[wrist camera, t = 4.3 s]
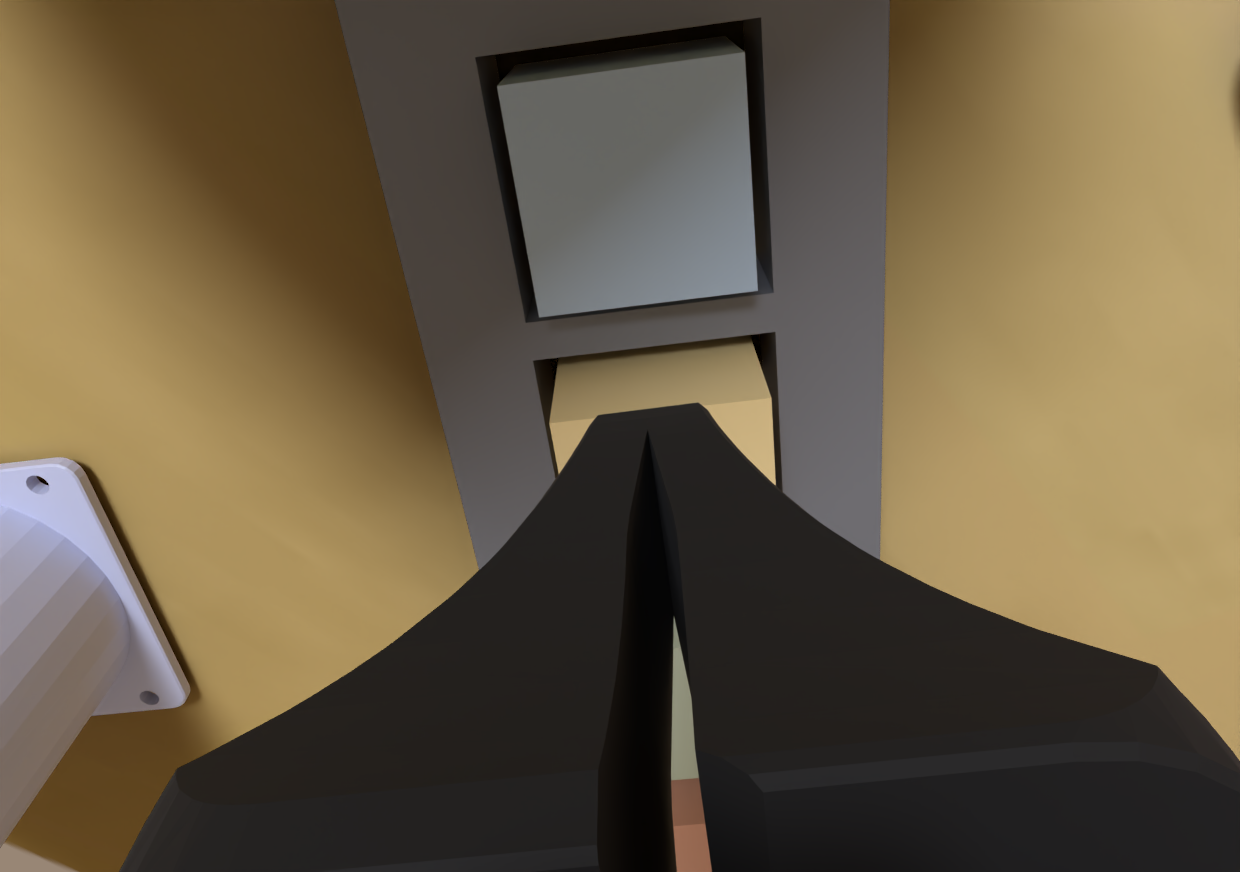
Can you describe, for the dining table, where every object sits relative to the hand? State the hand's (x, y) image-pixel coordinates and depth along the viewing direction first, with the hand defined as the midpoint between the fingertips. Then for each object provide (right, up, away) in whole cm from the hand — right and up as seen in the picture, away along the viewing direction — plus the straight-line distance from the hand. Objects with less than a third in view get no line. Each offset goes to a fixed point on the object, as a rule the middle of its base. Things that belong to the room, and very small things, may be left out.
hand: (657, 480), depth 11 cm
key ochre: (+1, +1, +9) cm, 9 cm away
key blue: (0, +6, +7) cm, 9 cm away
